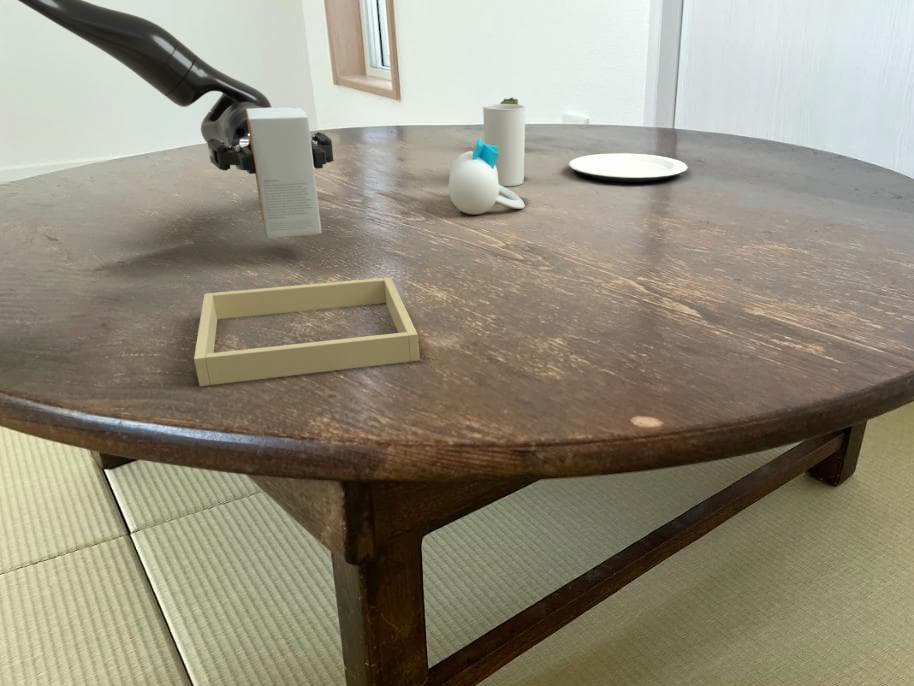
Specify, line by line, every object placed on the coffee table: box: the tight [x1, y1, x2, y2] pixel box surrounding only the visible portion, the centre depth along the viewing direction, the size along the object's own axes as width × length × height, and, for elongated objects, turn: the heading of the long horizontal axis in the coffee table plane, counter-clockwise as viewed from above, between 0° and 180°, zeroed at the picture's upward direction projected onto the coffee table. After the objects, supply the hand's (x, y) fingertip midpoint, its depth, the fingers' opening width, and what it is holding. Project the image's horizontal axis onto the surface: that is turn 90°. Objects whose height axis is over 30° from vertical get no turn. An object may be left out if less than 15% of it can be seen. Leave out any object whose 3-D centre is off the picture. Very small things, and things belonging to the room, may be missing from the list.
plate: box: [568, 152, 688, 183], centre depth 140 cm, size 21×21×2 cm
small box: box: [246, 106, 322, 239], centre depth 91 cm, size 8×6×13 cm
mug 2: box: [447, 138, 526, 216], centre depth 116 cm, size 12×9×12 cm
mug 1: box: [482, 103, 526, 187], centre depth 131 cm, size 10×7×12 cm, turn 24°
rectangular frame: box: [193, 276, 420, 387], centre depth 72 cm, size 18×16×3 cm
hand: (285, 161), depth 89 cm, fingers closed on small box, 7 cm apart
